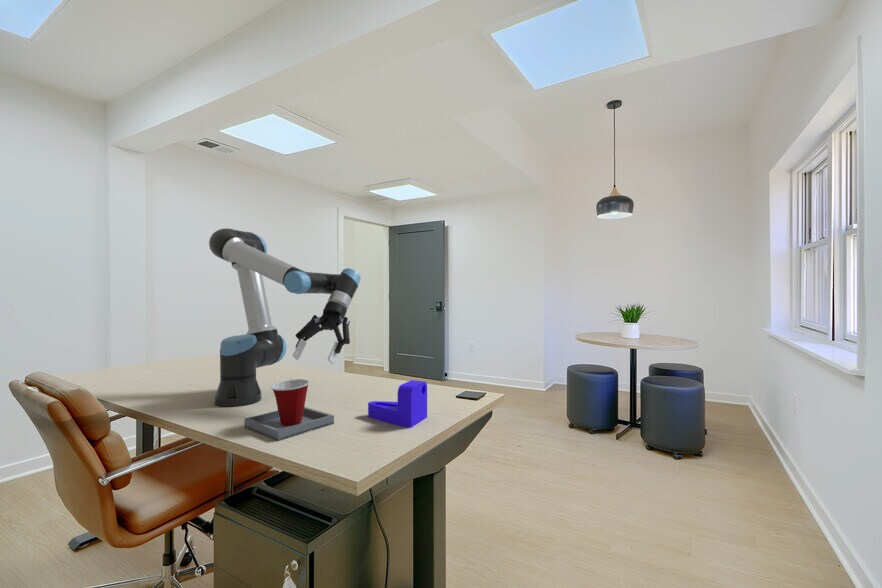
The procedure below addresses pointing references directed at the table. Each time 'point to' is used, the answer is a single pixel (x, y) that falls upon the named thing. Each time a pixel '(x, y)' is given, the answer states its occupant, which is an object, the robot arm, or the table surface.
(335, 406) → the table surface
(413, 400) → the bracket
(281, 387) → the plastic cup
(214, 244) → the robot arm
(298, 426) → the tray
